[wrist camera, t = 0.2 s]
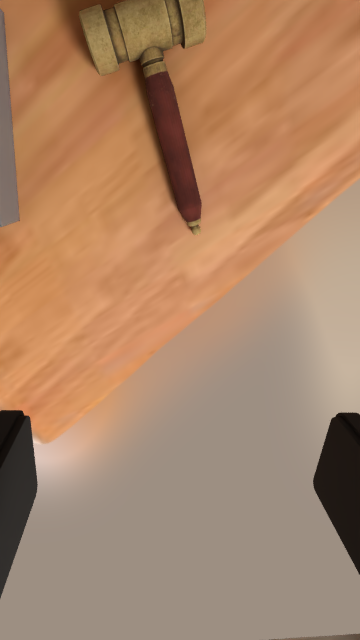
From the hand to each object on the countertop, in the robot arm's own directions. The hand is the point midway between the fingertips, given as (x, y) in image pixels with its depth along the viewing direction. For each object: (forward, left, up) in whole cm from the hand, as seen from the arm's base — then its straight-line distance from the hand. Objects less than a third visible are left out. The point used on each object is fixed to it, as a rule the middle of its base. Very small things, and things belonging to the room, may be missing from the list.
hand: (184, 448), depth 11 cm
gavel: (-12, 0, -32) cm, 34 cm away
